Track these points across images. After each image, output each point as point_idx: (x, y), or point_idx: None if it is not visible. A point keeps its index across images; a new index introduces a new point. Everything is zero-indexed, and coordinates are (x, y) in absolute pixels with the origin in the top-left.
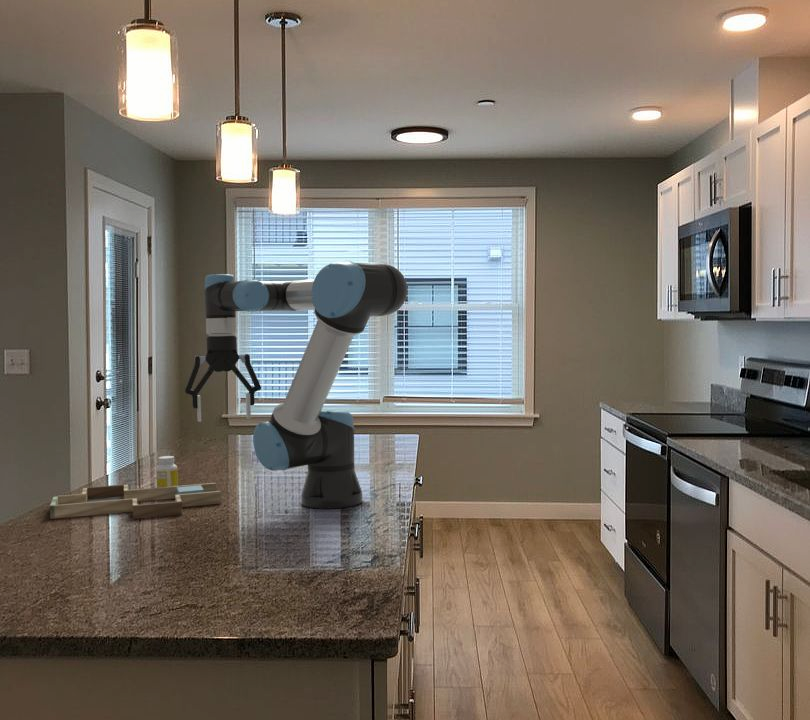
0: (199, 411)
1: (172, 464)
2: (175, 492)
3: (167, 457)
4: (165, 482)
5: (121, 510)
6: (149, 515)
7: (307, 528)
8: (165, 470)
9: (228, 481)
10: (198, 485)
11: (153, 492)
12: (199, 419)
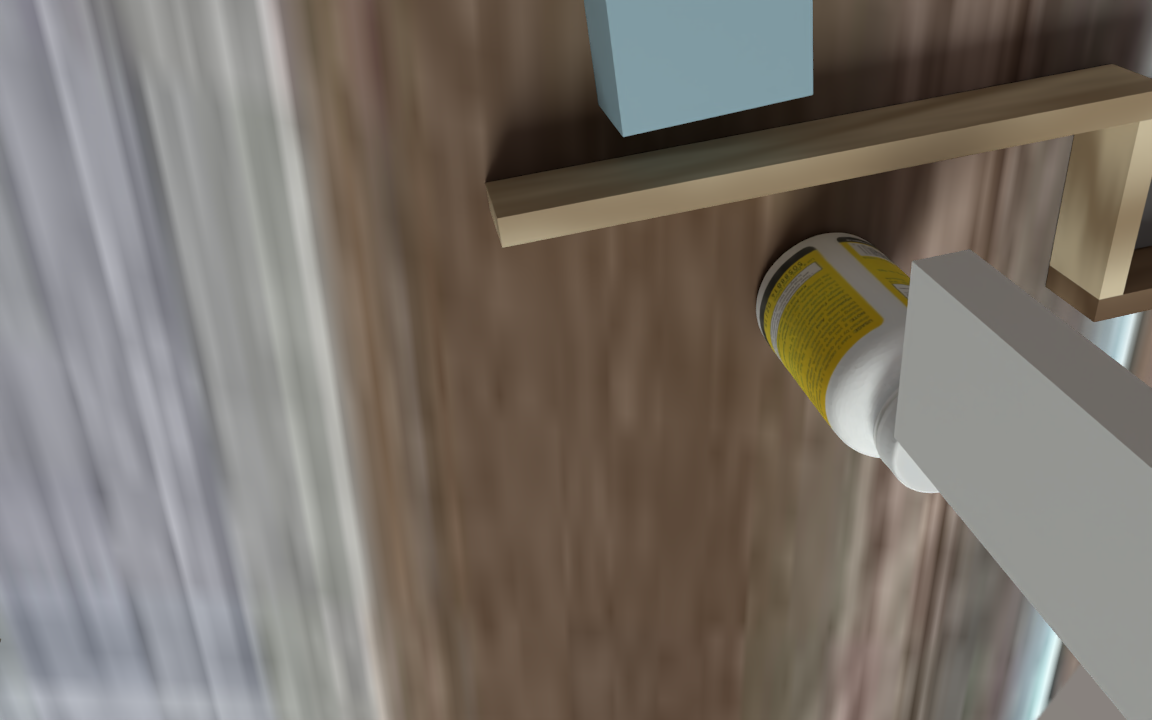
0: (1084, 371)
1: (883, 389)
2: (798, 141)
3: None
4: (880, 269)
5: None
6: None
7: None
8: None
9: (435, 570)
10: (641, 132)
11: (958, 115)
12: (973, 277)
